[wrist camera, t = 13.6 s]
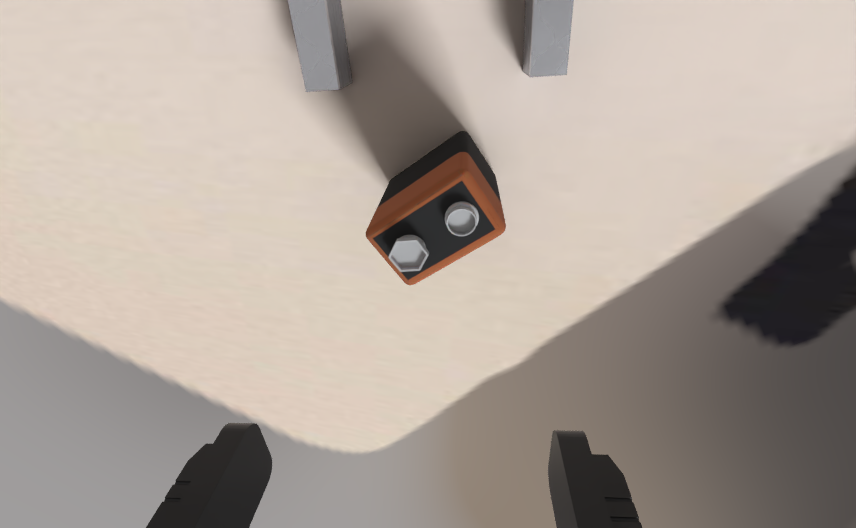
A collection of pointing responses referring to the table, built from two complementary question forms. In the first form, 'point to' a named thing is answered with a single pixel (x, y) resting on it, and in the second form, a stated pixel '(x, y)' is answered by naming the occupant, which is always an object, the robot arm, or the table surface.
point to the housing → (328, 53)
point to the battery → (437, 210)
